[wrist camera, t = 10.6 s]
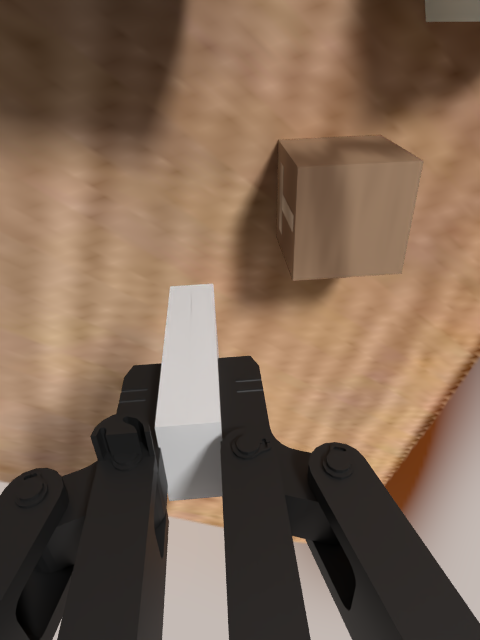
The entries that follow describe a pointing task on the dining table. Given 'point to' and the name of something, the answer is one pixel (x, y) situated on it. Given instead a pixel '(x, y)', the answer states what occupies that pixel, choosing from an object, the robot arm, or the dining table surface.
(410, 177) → the walnut block
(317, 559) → the robot arm
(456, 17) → the grey-green block
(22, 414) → the dining table surface
